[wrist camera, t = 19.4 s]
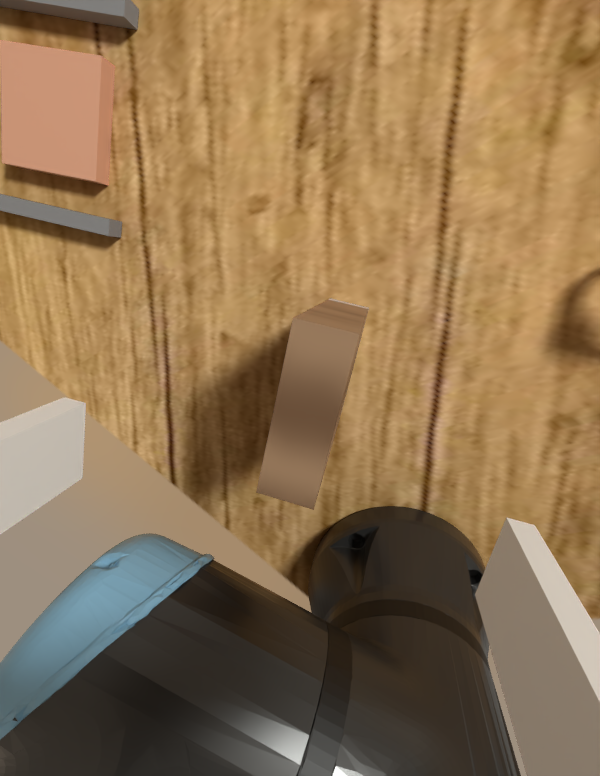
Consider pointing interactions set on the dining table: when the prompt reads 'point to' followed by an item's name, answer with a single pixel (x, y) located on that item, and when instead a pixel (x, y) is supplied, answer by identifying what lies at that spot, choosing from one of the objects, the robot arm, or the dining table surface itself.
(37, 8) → the slate frame
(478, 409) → the dining table surface
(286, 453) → the walnut block
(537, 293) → the dining table surface
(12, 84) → the terracotta tile
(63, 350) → the dining table surface
